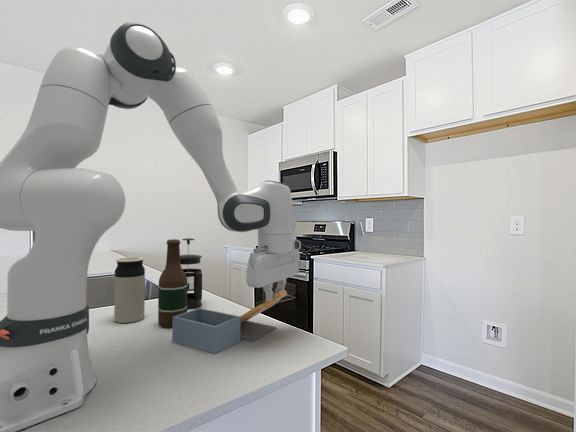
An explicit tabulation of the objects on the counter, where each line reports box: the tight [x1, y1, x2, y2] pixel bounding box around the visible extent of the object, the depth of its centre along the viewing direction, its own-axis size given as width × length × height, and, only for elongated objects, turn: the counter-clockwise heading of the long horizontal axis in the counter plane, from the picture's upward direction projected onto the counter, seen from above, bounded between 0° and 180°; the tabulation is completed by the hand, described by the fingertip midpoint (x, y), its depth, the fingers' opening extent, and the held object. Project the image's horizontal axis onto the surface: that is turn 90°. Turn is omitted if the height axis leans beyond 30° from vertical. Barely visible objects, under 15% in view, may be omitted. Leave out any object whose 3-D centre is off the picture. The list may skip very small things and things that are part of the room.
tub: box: [171, 307, 241, 355], centre depth 79 cm, size 9×14×6 cm, turn 60°
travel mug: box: [113, 256, 146, 324], centre depth 95 cm, size 8×8×18 cm
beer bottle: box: [157, 238, 188, 329], centre depth 91 cm, size 8×8×24 cm
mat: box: [240, 320, 277, 343], centre depth 87 cm, size 11×14×1 cm
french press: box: [180, 237, 203, 311], centre depth 109 cm, size 12×9×23 cm
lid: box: [240, 289, 288, 324], centre depth 85 cm, size 10×19×2 cm
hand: (274, 298), depth 83 cm, fingers open, 3 cm apart
